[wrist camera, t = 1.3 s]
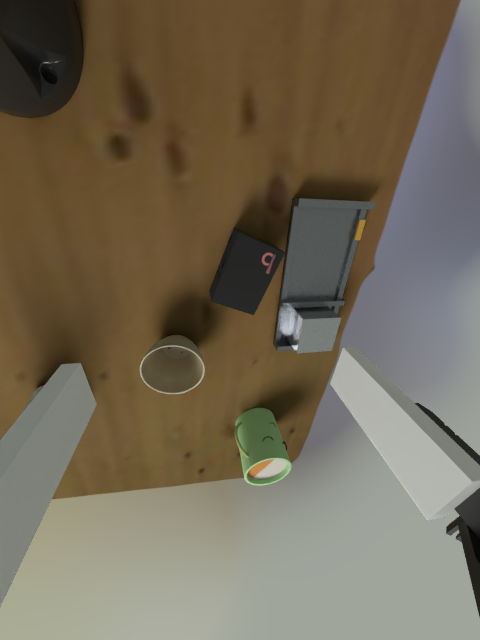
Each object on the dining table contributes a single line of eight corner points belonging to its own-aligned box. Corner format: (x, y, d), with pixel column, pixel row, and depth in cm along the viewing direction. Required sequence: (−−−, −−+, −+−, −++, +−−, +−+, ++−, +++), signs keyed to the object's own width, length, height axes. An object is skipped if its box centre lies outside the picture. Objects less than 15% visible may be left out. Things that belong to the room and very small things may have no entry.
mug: (282, 414, 56) (302, 463, 46) (257, 438, 59) (269, 488, 49) (245, 398, 51) (257, 448, 40) (219, 425, 54) (224, 478, 44)
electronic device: (209, 289, 37) (210, 301, 33) (233, 227, 33) (238, 231, 29) (248, 303, 39) (254, 315, 35) (275, 246, 35) (285, 252, 31)
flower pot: (209, 328, 40) (211, 351, 34) (197, 369, 44) (197, 396, 38) (152, 317, 37) (143, 340, 31) (145, 362, 42) (136, 391, 35)
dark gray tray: (292, 198, 32) (309, 198, 27) (367, 202, 34) (395, 202, 29) (273, 343, 45) (282, 360, 40) (329, 340, 47) (344, 355, 42)
